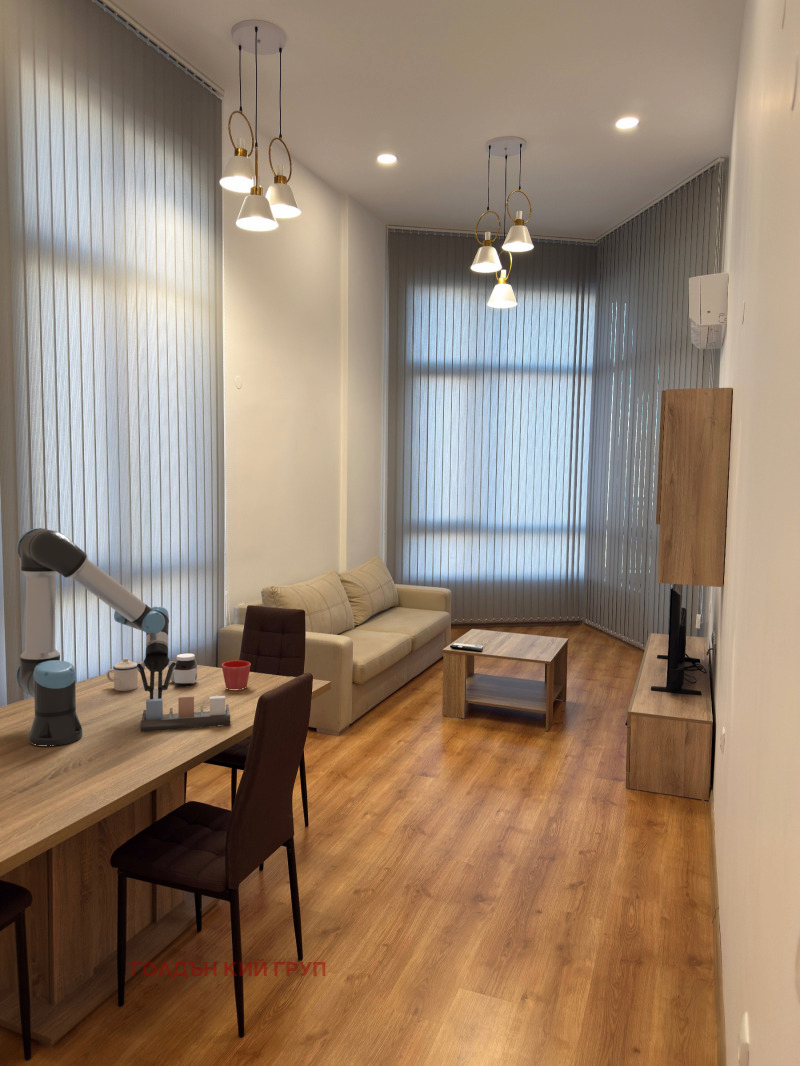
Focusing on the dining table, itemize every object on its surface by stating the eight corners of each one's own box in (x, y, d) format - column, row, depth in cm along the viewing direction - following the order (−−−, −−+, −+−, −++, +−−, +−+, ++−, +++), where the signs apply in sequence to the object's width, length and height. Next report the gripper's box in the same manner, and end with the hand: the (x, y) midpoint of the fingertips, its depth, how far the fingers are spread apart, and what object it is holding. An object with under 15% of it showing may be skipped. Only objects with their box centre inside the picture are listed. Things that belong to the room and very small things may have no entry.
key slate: (146, 720, 246) (146, 699, 245) (162, 719, 247) (162, 698, 247) (146, 723, 244) (146, 701, 243) (162, 722, 245) (162, 700, 244)
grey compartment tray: (143, 720, 252) (143, 710, 252) (228, 714, 260) (228, 704, 259) (140, 731, 241) (140, 721, 240) (230, 725, 248) (230, 715, 248)
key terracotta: (178, 716, 251) (178, 695, 250) (194, 715, 252) (194, 694, 252) (178, 719, 248) (178, 697, 248) (194, 717, 250) (194, 696, 249)
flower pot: (245, 692, 286) (244, 667, 285) (217, 691, 287) (217, 666, 287) (254, 685, 296) (254, 661, 295) (228, 683, 298) (228, 659, 297)
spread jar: (191, 688, 291) (190, 658, 290) (162, 687, 292) (162, 658, 291) (201, 680, 303) (201, 651, 302) (173, 679, 304) (173, 650, 303)
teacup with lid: (142, 685, 294) (141, 655, 294) (133, 691, 285) (132, 661, 284) (111, 684, 295) (111, 655, 294) (102, 691, 286) (101, 660, 285)
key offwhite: (209, 717, 250) (209, 696, 249) (225, 716, 251) (225, 695, 251) (209, 720, 248) (209, 698, 247) (225, 719, 249) (225, 697, 248)
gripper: (176, 652, 267) (176, 712, 252) (137, 654, 263) (135, 715, 249) (176, 640, 261) (175, 701, 247) (136, 642, 258) (133, 704, 243)
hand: (155, 708), depth 248 cm, fingers closed
